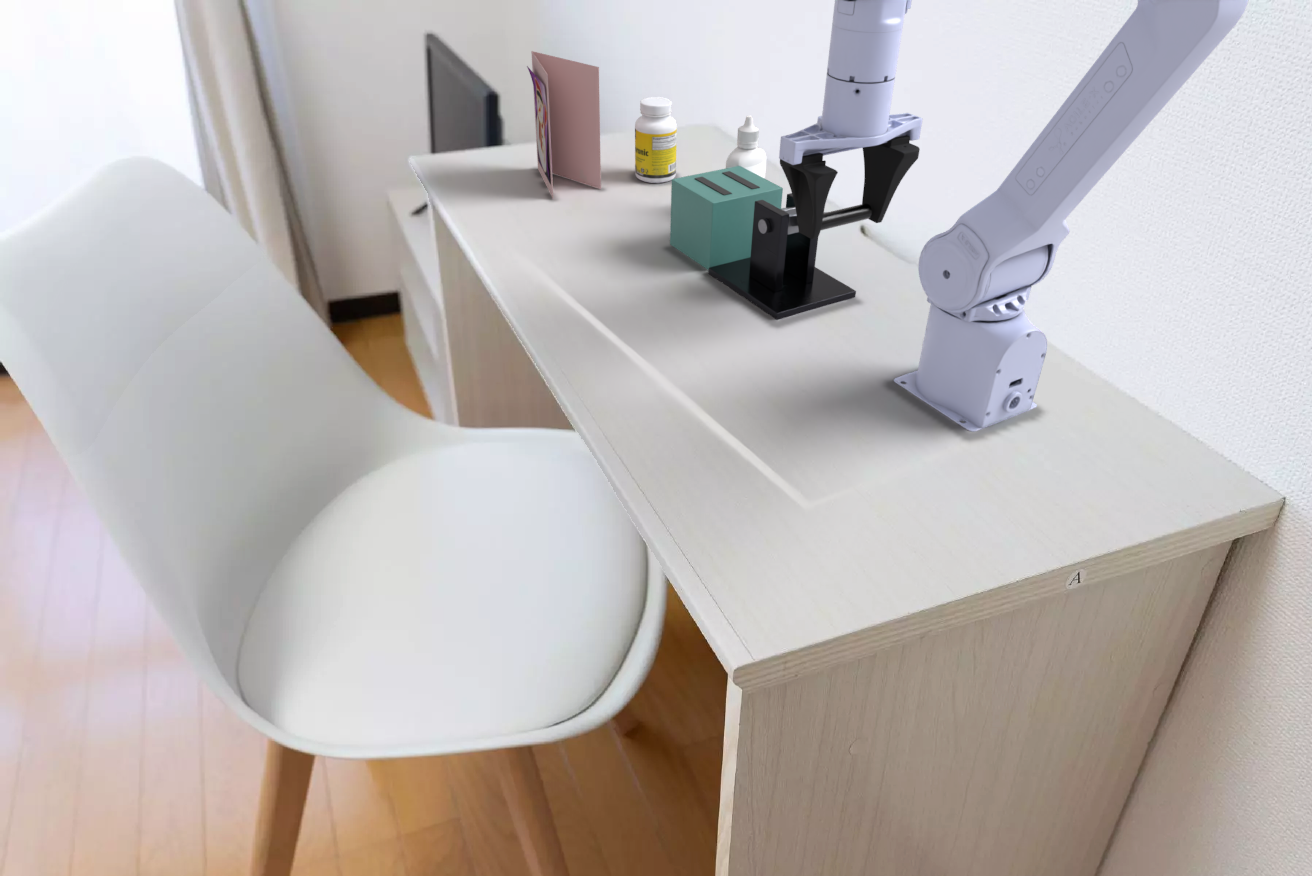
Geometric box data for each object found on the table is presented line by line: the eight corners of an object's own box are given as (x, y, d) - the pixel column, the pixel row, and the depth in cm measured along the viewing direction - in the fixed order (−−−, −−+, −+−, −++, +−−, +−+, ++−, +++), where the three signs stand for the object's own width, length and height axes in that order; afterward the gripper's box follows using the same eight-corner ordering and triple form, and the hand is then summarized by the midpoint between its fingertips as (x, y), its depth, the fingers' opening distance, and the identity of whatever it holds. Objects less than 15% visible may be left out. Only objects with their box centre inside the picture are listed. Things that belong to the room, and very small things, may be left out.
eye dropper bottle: (771, 221, 115) (780, 119, 109) (728, 226, 114) (734, 124, 107) (756, 208, 119) (763, 109, 112) (713, 213, 117) (719, 113, 110)
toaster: (776, 257, 107) (783, 186, 102) (709, 275, 103) (712, 202, 98) (735, 232, 112) (739, 164, 108) (669, 248, 108) (671, 178, 104)
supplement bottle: (629, 171, 129) (629, 96, 123) (668, 168, 130) (670, 93, 125) (641, 185, 125) (641, 108, 119) (681, 181, 126) (683, 105, 120)
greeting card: (531, 169, 129) (524, 51, 120) (585, 164, 131) (582, 48, 122) (546, 199, 120) (540, 75, 111) (604, 194, 122) (602, 71, 113)
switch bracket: (854, 301, 98) (867, 214, 93) (776, 324, 94) (784, 234, 89) (783, 258, 107) (791, 176, 101) (707, 277, 102) (712, 193, 97)
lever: (873, 223, 90) (870, 197, 89) (823, 236, 87) (819, 209, 86) (803, 227, 99) (800, 204, 98) (755, 239, 96) (752, 215, 96)
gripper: (892, 54, 87) (871, 198, 95) (763, 74, 81) (751, 226, 89) (949, 72, 82) (921, 223, 90) (816, 94, 76) (799, 254, 84)
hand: (840, 226), depth 89 cm, fingers open, 7 cm apart
